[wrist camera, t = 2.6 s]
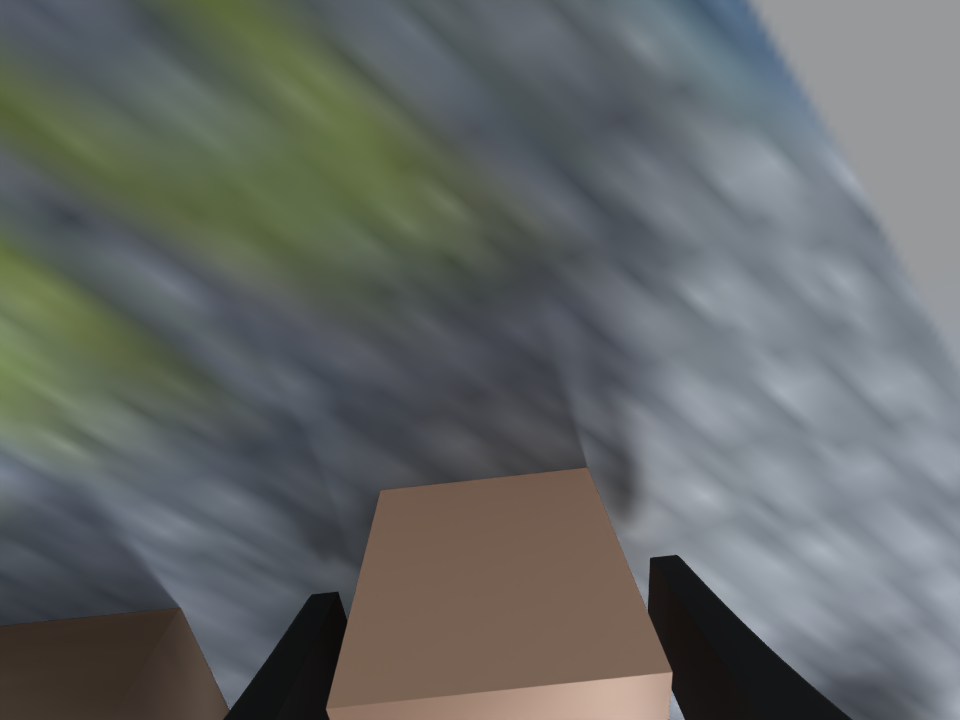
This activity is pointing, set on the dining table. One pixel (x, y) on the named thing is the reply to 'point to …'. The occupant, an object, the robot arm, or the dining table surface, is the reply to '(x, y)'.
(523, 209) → the dining table surface
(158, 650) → the base block
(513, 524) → the cube
